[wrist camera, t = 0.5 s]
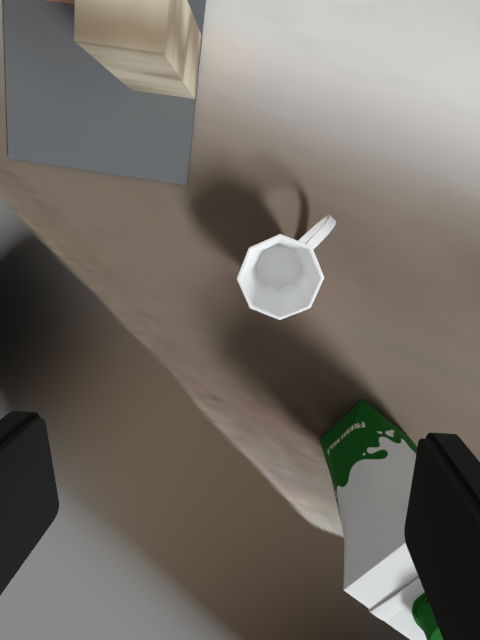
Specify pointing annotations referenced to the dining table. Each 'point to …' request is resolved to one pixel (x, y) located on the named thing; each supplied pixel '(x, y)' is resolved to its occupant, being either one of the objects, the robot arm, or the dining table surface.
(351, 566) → the milk carton
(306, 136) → the dining table surface
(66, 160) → the rubber mat
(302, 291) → the cup
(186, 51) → the beech block
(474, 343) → the dining table surface
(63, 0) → the terracotta block
